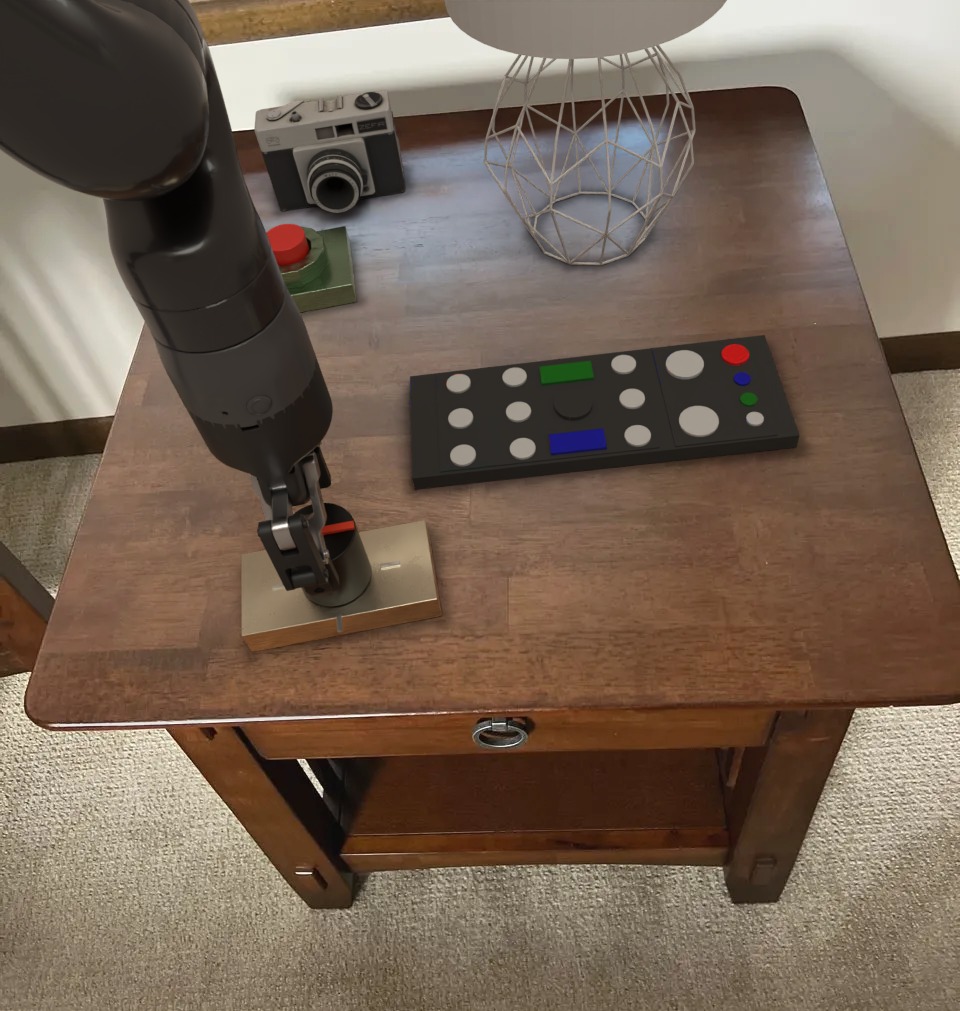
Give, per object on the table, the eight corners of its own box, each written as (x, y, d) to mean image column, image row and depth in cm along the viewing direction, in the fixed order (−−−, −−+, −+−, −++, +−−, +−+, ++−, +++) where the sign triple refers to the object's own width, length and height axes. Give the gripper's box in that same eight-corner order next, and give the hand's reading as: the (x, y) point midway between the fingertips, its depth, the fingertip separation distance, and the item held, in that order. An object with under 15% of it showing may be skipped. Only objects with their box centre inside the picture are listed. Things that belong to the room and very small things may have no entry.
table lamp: (457, 302, 86) (376, -218, 54) (493, 159, 99) (444, -330, 66) (702, 310, 82) (772, -245, 50) (706, 161, 95) (764, -359, 63)
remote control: (796, 447, 72) (800, 430, 71) (414, 489, 74) (410, 474, 72) (762, 347, 79) (765, 330, 77) (412, 387, 80) (408, 372, 79)
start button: (268, 269, 86) (262, 254, 85) (267, 243, 88) (261, 227, 87) (310, 261, 86) (305, 246, 85) (308, 235, 88) (303, 220, 87)
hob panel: (252, 667, 66) (240, 650, 64) (251, 558, 71) (240, 540, 69) (444, 630, 66) (439, 612, 64) (428, 525, 71) (423, 505, 69)
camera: (269, 231, 95) (240, 142, 87) (283, 181, 101) (257, 93, 93) (401, 222, 94) (384, 131, 86) (408, 172, 99) (392, 82, 92)
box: (243, 323, 87) (229, 291, 84) (243, 263, 93) (230, 230, 90) (357, 302, 88) (347, 269, 84) (350, 243, 93) (341, 210, 90)
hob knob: (302, 613, 65) (279, 569, 60) (299, 552, 68) (277, 507, 63) (374, 599, 65) (357, 555, 60) (368, 539, 68) (351, 493, 63)
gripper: (181, 293, 53) (264, 465, 67) (171, 484, 45) (268, 637, 58) (308, 269, 53) (366, 446, 67) (321, 455, 45) (384, 615, 58)
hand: (320, 535), depth 62 cm, fingers open, 8 cm apart
